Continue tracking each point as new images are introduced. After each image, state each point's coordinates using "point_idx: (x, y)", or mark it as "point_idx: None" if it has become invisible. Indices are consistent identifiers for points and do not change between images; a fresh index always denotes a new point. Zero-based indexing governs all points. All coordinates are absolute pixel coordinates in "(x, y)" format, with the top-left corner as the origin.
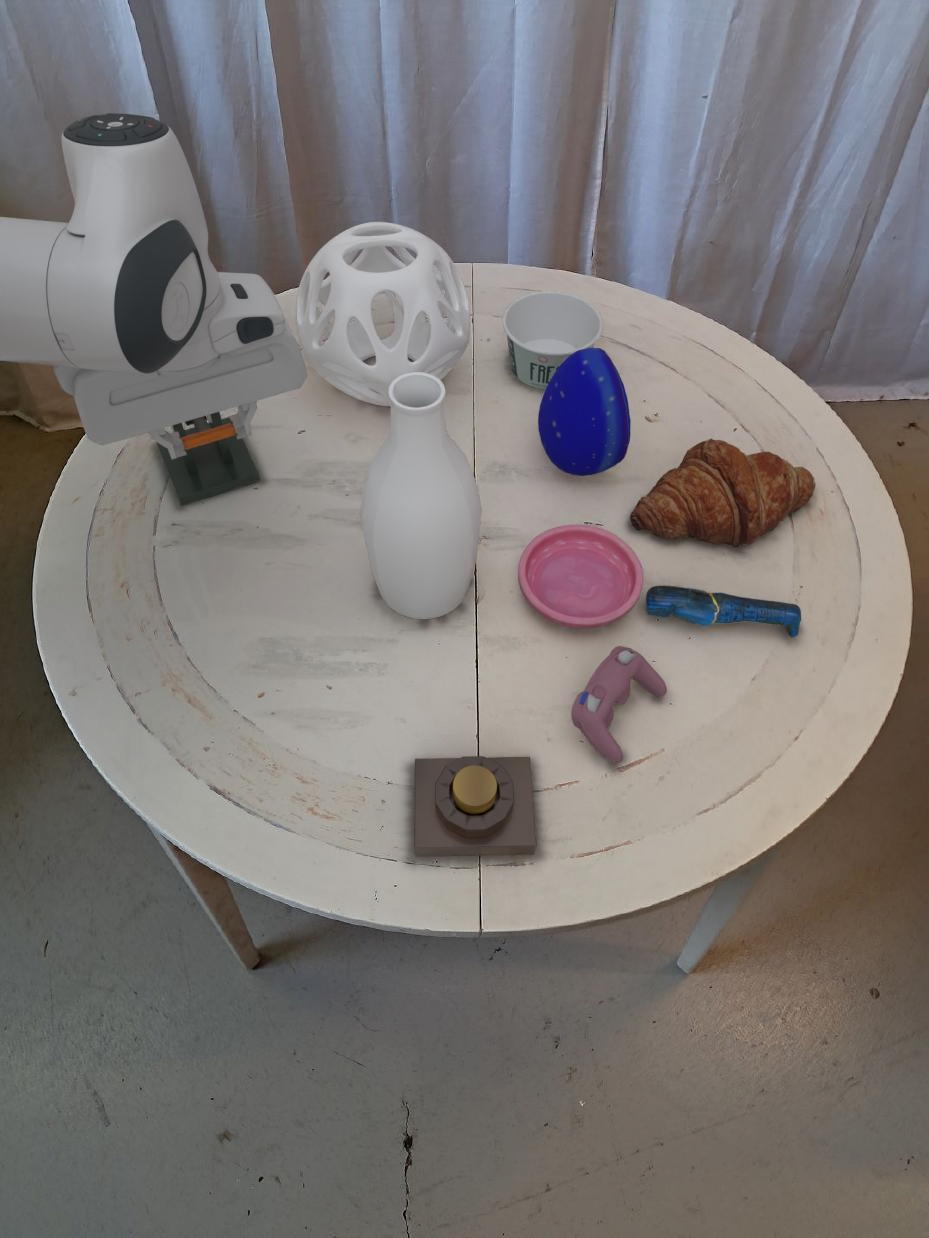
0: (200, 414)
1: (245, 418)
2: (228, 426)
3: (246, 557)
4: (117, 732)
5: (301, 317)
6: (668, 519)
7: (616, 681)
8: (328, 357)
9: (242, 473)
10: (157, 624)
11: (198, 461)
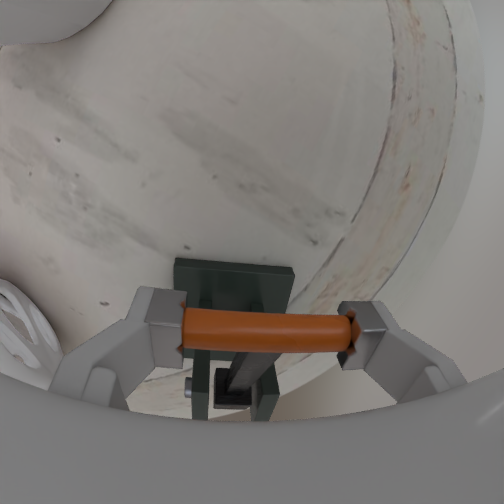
0: (337, 433)
1: (126, 340)
2: (197, 339)
3: (257, 130)
4: (465, 33)
5: None
6: None
7: None
8: (18, 369)
9: (195, 275)
10: (404, 105)
11: None
